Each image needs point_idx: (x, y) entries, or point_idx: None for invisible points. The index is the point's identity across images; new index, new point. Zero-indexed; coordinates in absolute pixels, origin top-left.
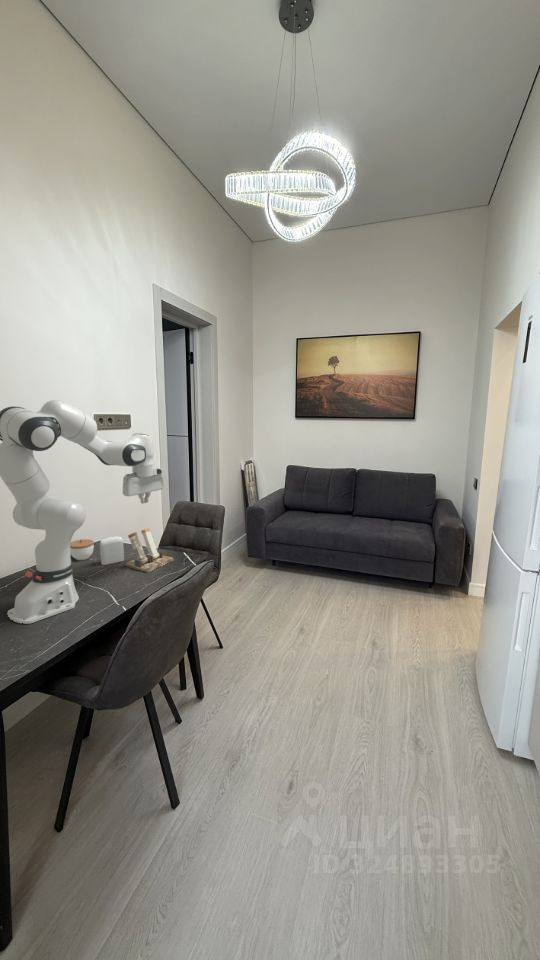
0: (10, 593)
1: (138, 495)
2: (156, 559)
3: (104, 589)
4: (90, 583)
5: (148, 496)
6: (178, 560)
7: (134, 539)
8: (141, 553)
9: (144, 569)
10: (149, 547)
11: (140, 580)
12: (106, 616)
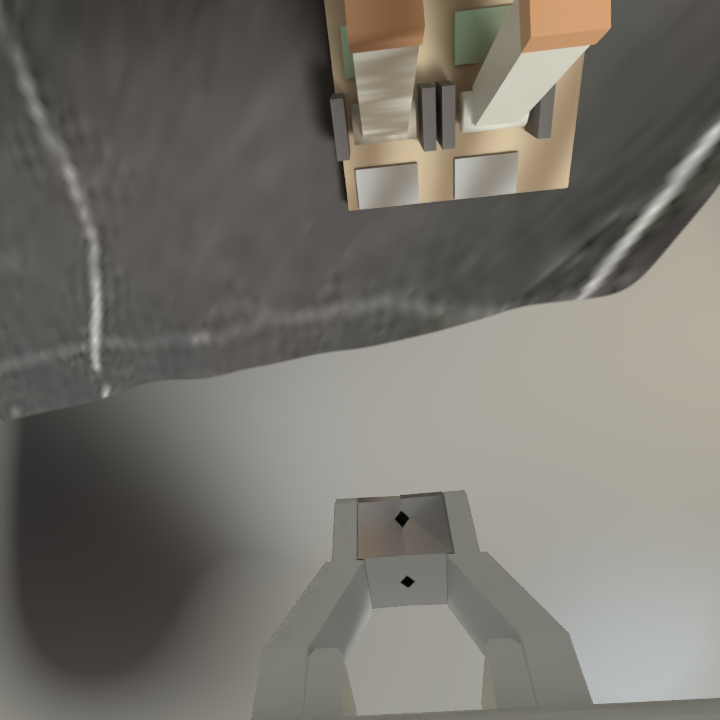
0: None
1: (263, 668)
2: None
3: (85, 203)
4: (34, 58)
5: (484, 648)
6: (583, 199)
7: (365, 67)
8: (382, 122)
9: (346, 184)
10: (486, 92)
11: (269, 255)
12: (34, 402)
